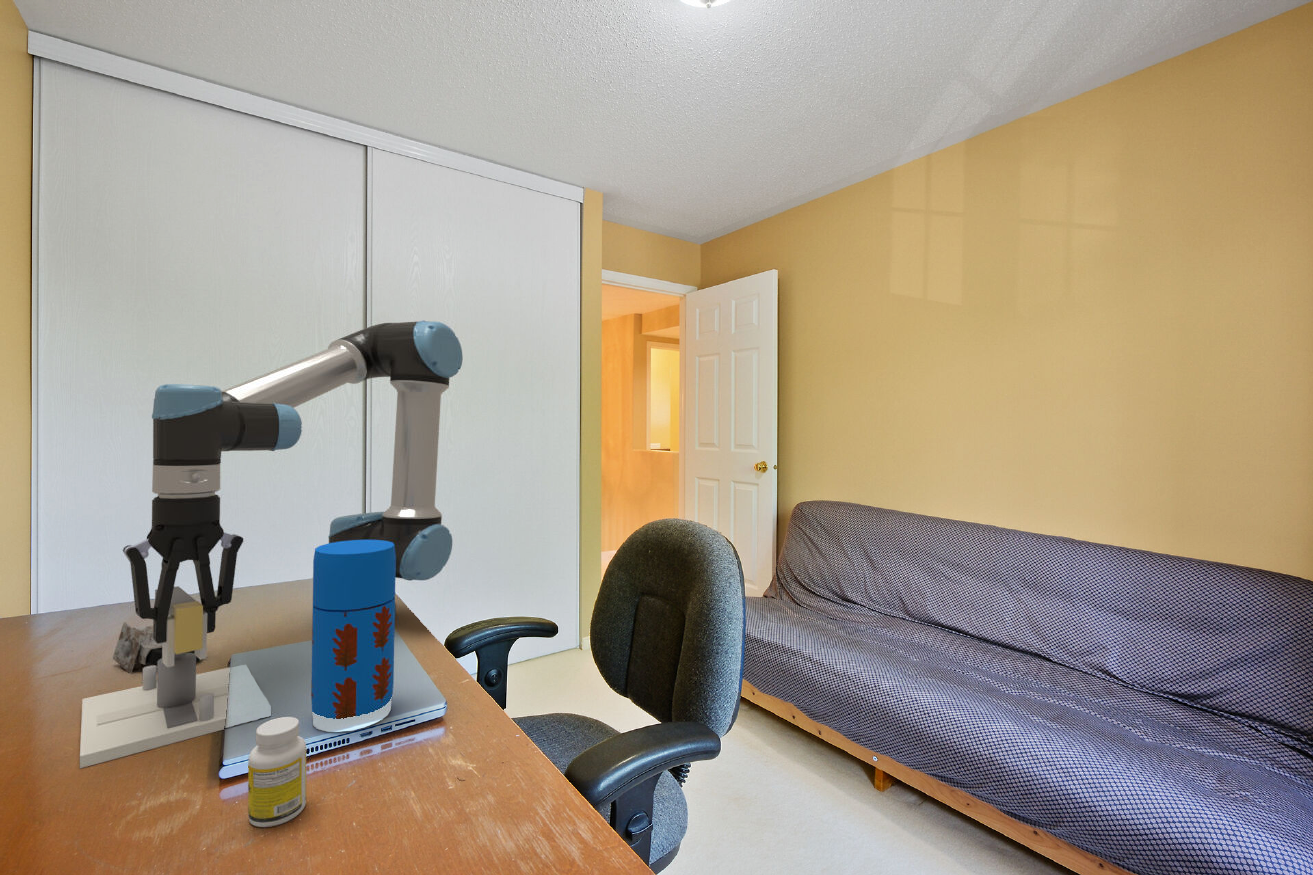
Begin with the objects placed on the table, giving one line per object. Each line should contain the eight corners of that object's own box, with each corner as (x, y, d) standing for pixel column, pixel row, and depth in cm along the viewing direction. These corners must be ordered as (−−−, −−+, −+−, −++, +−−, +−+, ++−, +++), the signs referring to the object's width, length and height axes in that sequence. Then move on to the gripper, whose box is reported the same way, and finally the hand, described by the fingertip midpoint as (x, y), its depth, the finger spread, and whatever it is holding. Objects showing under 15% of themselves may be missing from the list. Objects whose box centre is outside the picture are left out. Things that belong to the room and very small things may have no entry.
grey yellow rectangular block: (154, 645, 90) (154, 589, 90) (178, 640, 92) (178, 585, 92) (176, 672, 81) (176, 609, 81) (202, 666, 83) (202, 605, 83)
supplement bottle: (265, 797, 68) (266, 713, 68) (315, 796, 68) (316, 712, 68) (236, 830, 62) (237, 738, 62) (290, 828, 63) (291, 737, 63)
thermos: (408, 705, 91) (411, 543, 90) (351, 739, 80) (354, 557, 80) (353, 693, 94) (356, 537, 94) (292, 724, 84) (295, 549, 84)
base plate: (245, 672, 101) (246, 625, 101) (271, 716, 86) (272, 661, 86) (82, 708, 87) (82, 654, 87) (79, 768, 72) (80, 703, 72)
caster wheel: (207, 673, 106) (140, 686, 97) (174, 648, 111) (108, 659, 102) (218, 637, 106) (152, 647, 97) (185, 614, 111) (120, 621, 102)
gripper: (116, 501, 74) (114, 686, 75) (262, 493, 87) (259, 651, 87) (104, 496, 79) (102, 669, 80) (244, 488, 92) (241, 638, 92)
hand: (184, 659), depth 83 cm, fingers closed on grey yellow rectangular block, 3 cm apart
